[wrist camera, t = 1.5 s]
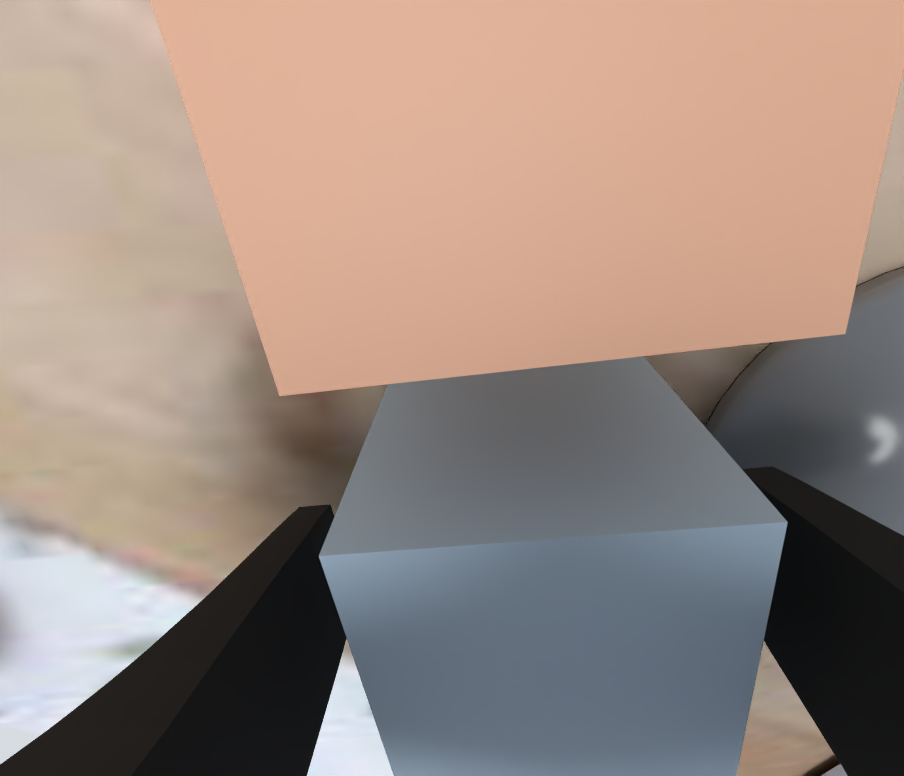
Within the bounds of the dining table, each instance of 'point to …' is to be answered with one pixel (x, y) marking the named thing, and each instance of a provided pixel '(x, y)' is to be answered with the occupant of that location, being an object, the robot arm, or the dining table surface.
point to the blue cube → (553, 577)
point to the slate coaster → (830, 407)
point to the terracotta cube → (536, 174)
